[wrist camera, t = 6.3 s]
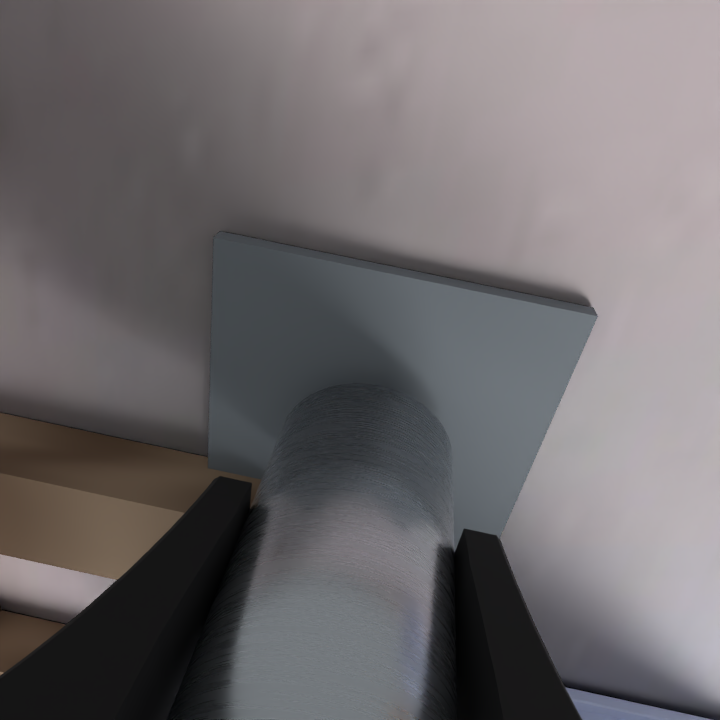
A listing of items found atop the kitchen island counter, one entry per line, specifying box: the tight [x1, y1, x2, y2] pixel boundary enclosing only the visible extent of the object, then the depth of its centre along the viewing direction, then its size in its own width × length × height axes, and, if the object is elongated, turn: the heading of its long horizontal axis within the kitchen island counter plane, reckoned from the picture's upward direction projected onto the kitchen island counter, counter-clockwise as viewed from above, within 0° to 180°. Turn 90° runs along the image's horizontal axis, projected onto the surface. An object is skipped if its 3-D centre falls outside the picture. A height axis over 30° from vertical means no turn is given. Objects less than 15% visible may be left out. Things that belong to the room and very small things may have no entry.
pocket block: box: [0, 413, 261, 675], centre depth 18 cm, size 13×13×2 cm
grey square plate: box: [208, 231, 598, 553], centre depth 14 cm, size 8×8×1 cm
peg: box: [167, 383, 457, 720], centre depth 10 cm, size 4×4×8 cm
